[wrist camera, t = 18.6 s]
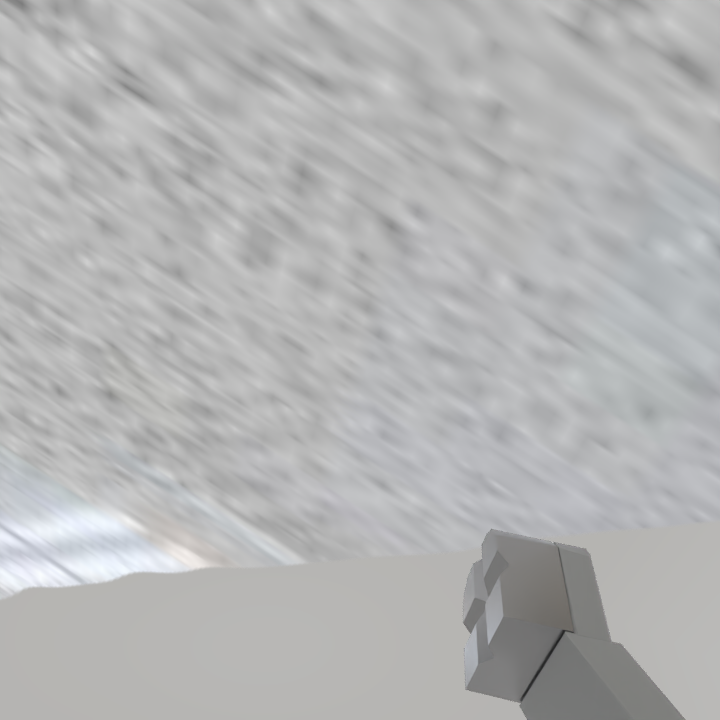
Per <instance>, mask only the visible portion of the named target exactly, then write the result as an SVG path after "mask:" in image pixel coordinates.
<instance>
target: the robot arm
mask: <svg viewBox="0 0 720 720" xmlns="http://www.w3.org/2000/svg"><path fill="white" fill-rule="evenodd" d="M463 623H464V625H465V626H466V628H467V629H468V631H469V632H470V634H471V635H470V637H469V639H468V641H467V643H466V646H465V648H464V663H465V686H466V687H465V688H466V690H469V691H473V692H478V693H482V694H486V695H490V696H494V697H498V698H502V699H506V700H510V701H514V702H519V703H521V704H520V708H521V709H522V711H523V713H524V715H525V717H526V718H527V720H685V719H684V717H683V716H682V715H681V714H680V713H679V711H678V710H677V709H676V708H675V707H674V706H673V704H672V703H671V702H670V701H669V700H668V698H667V697H666V696H665V695H664V694H663V693H662V691H661V690H660V689H659V688H658V687H657V685H656V684H655V683H654V682H653V681H652V680H651V678H650V677H649V676H648V675H647V674H646V673H645V671H644V670H643V669H642V668H641V667H640V665H639V664H638V663H637V662H636V661H635V660H634V658H633V657H632V656H631V655H630V654H629V652H628V651H627V650H626V649H625V648H624V647H623V645H622V644H619V643H615V642H612V641H611V637H610V633H609V629H608V625H607V621H606V617H605V613H604V609H603V605H602V601H601V597H600V593H599V588H598V585H597V580H596V577H595V572H594V568H593V565H592V560H591V556H590V554H589V552H588V551H587V550H586V549H584V548H580V547H575V546H570V545H565V544H560V543H555V542H554V543H552V542H550V541H546V540H541V539H537V538H532V537H527V536H522V535H518V534H513V533H508V532H503V531H498V530H494V529H491V530H490V531H489V532H488V533H487V535H486V537H485V539H484V541H483V543H482V559H481V560H480V561H478V562H475V563H474V564H473V566H472V568H471V571H470V573H469V576H468V579H467V583H466V588H465V592H464V601H463Z"/></svg>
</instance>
